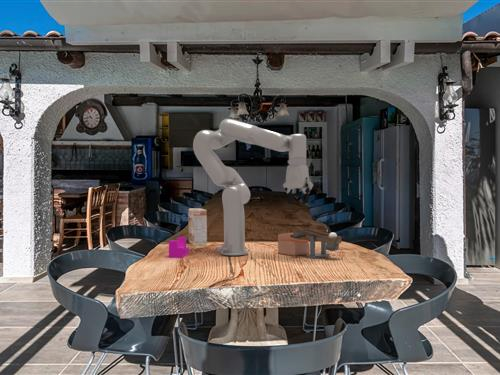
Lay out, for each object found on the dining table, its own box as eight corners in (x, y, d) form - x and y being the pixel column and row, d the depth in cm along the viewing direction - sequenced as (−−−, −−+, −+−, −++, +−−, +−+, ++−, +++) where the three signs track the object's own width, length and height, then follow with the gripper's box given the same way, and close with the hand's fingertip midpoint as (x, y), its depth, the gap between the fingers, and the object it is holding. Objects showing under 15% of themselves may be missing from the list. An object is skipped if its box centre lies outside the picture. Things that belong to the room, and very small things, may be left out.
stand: (315, 258, 201) (315, 236, 201) (306, 257, 205) (306, 235, 205) (329, 256, 208) (329, 234, 208) (320, 255, 212) (320, 234, 212)
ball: (333, 241, 198) (334, 233, 198) (326, 239, 201) (327, 231, 201) (338, 240, 201) (339, 232, 201) (331, 239, 203) (332, 231, 203)
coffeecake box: (188, 245, 250) (187, 208, 250) (201, 244, 252) (201, 208, 252) (193, 248, 236) (193, 209, 236) (207, 248, 238) (207, 209, 238)
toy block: (182, 258, 207) (182, 241, 207) (168, 258, 208) (168, 241, 208) (191, 253, 222) (191, 237, 222) (178, 253, 223) (178, 237, 223)
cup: (295, 256, 209) (294, 235, 209) (278, 253, 217) (278, 234, 217) (309, 253, 216) (309, 234, 216) (292, 251, 224) (292, 232, 224)
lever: (321, 253, 193) (322, 238, 192) (284, 242, 207) (285, 228, 207) (340, 250, 202) (341, 236, 201) (303, 239, 216) (304, 226, 216)
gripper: (277, 163, 210) (277, 202, 210) (307, 161, 197) (308, 203, 197) (288, 163, 215) (288, 202, 215) (318, 162, 202) (319, 203, 202)
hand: (297, 202), depth 206 cm, fingers open, 7 cm apart
